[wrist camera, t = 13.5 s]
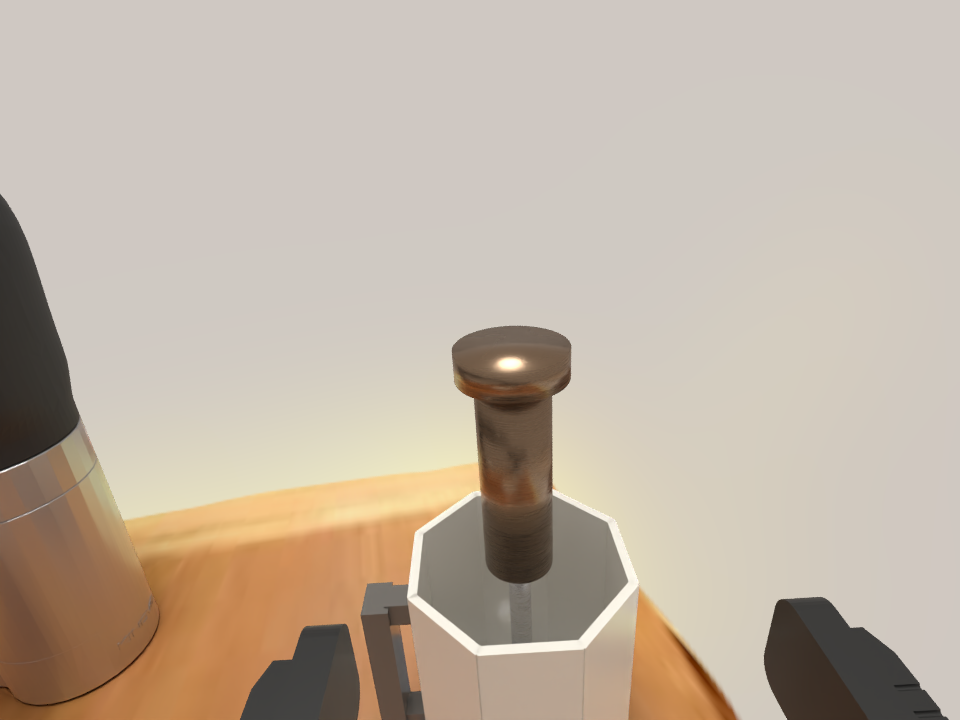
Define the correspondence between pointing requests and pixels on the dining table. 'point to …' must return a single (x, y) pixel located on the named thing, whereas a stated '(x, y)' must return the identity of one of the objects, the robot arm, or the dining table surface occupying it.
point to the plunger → (515, 450)
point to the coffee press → (507, 625)
